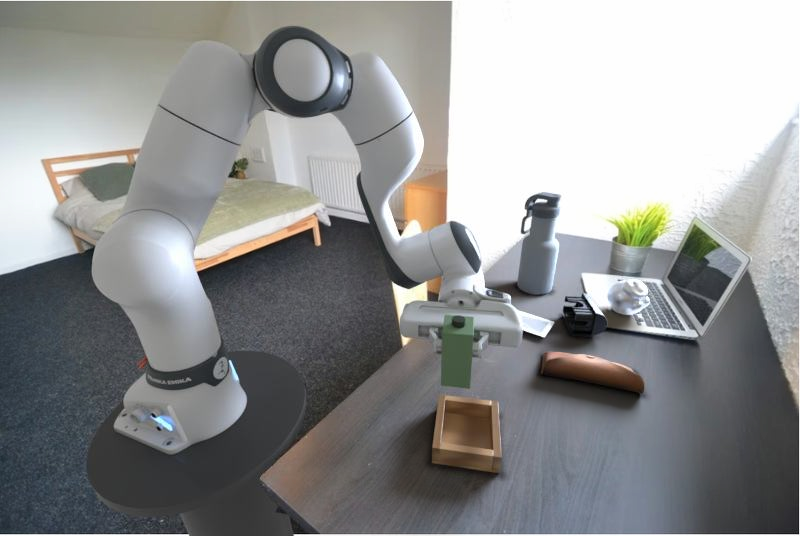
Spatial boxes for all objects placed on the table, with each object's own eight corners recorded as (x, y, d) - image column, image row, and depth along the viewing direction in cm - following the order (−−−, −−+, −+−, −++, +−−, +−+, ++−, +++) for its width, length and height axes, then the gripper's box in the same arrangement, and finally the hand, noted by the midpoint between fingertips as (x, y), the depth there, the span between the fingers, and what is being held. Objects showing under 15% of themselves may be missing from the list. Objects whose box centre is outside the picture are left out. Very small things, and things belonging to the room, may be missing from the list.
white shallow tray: (497, 307, 101) (498, 300, 100) (554, 325, 92) (555, 318, 91) (484, 320, 95) (485, 313, 94) (543, 341, 87) (545, 333, 86)
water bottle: (509, 287, 111) (520, 194, 99) (526, 276, 117) (539, 188, 105) (540, 299, 104) (556, 201, 92) (557, 287, 110) (574, 194, 98)
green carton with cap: (440, 385, 58) (442, 327, 54) (443, 364, 63) (444, 308, 58) (469, 388, 58) (474, 329, 53) (470, 367, 62) (474, 311, 57)
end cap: (604, 339, 87) (610, 314, 84) (572, 337, 88) (577, 312, 85) (589, 315, 96) (595, 292, 93) (561, 314, 97) (565, 291, 94)
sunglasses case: (633, 366, 77) (644, 354, 72) (635, 400, 74) (647, 390, 68) (541, 351, 83) (545, 338, 77) (539, 381, 79) (542, 370, 74)
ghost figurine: (610, 321, 93) (619, 286, 89) (599, 302, 102) (607, 269, 98) (650, 324, 92) (661, 288, 88) (635, 305, 100) (644, 271, 96)
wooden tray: (431, 463, 59) (432, 447, 57) (438, 408, 69) (439, 394, 68) (499, 473, 57) (501, 457, 56) (496, 415, 67) (498, 401, 66)
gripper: (405, 287, 70) (390, 329, 57) (519, 294, 66) (528, 341, 54) (406, 315, 72) (391, 361, 60) (515, 324, 69) (523, 375, 57)
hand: (457, 352), depth 57 cm, fingers closed on green carton with cap, 4 cm apart
